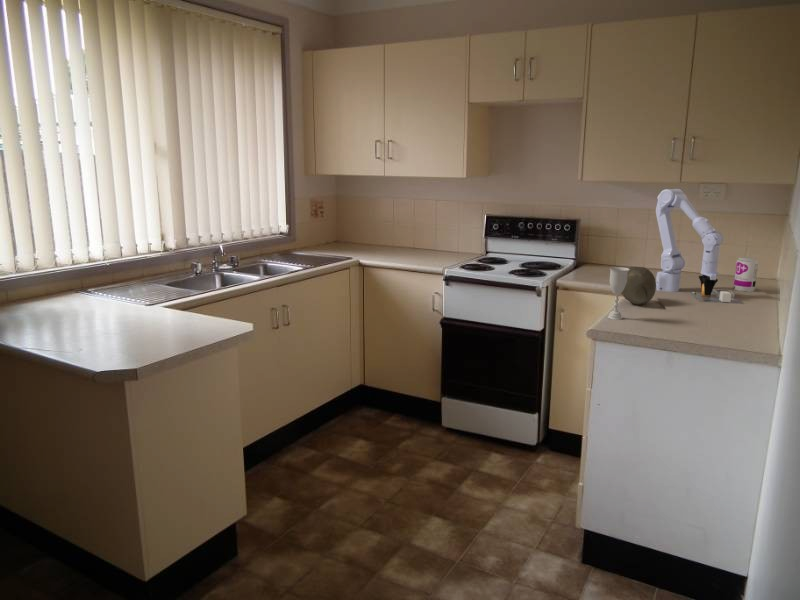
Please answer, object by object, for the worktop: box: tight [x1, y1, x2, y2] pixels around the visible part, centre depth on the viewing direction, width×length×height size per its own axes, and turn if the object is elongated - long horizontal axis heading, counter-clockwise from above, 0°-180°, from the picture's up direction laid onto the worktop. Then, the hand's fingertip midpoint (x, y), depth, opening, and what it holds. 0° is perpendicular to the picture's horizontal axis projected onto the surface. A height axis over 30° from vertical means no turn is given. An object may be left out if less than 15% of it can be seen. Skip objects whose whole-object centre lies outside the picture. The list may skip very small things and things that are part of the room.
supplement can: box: [732, 256, 759, 293], centre depth 274 cm, size 8×8×15 cm
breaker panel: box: [689, 291, 744, 305], centre depth 258 cm, size 16×18×2 cm
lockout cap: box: [700, 284, 711, 297], centre depth 261 cm, size 4×4×5 cm
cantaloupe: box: [620, 266, 657, 306], centre depth 249 cm, size 14×14×15 cm
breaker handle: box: [719, 291, 731, 302], centre depth 252 cm, size 3×4×4 cm
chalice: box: [607, 266, 629, 321], centre depth 226 cm, size 7×7×18 cm
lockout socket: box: [711, 288, 735, 298], centre depth 262 cm, size 7×7×2 cm
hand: (706, 294), depth 261 cm, fingers closed on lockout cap, 4 cm apart
